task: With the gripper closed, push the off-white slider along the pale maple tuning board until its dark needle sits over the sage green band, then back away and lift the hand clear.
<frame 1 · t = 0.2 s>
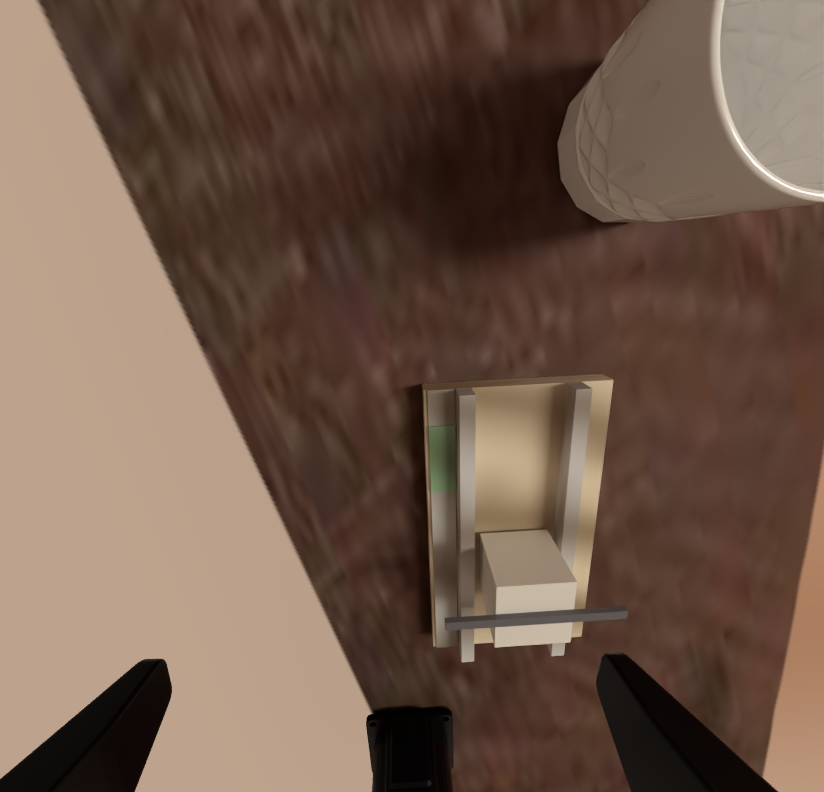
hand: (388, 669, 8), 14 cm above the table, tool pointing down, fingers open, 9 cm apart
tuning slider: (523, 586, 21), point 4 cm above the table, slide at 0.0 cm
white cup: (625, 146, 18), on the table
tuning board: (507, 516, 24), on the table
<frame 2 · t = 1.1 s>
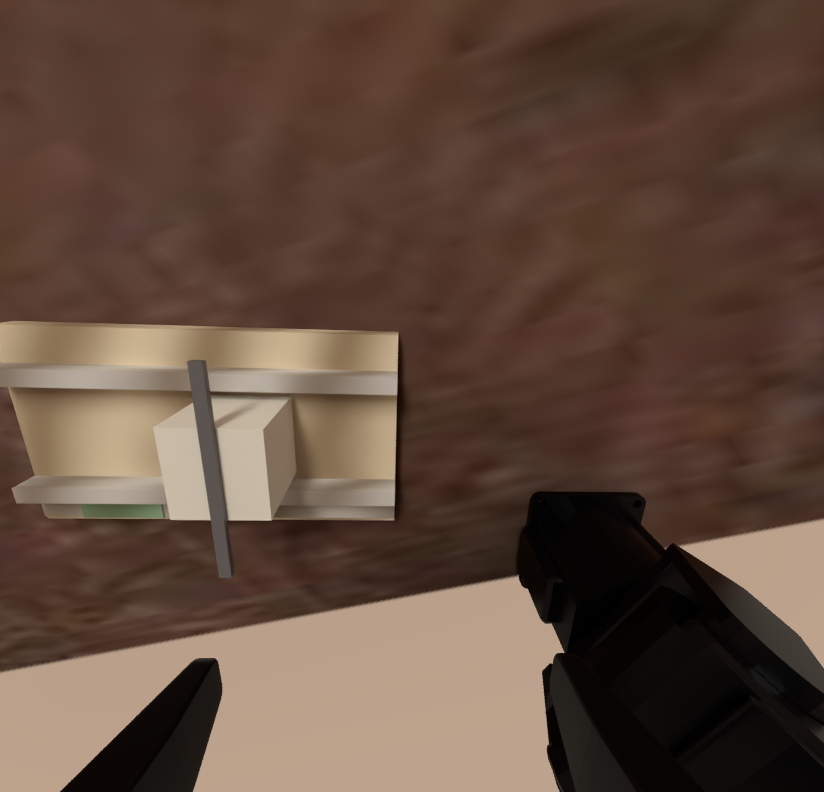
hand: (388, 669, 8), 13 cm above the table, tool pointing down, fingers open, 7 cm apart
tuning slider: (234, 454, 16), point 4 cm above the table, slide at 0.0 cm
tuning board: (223, 423, 20), on the table
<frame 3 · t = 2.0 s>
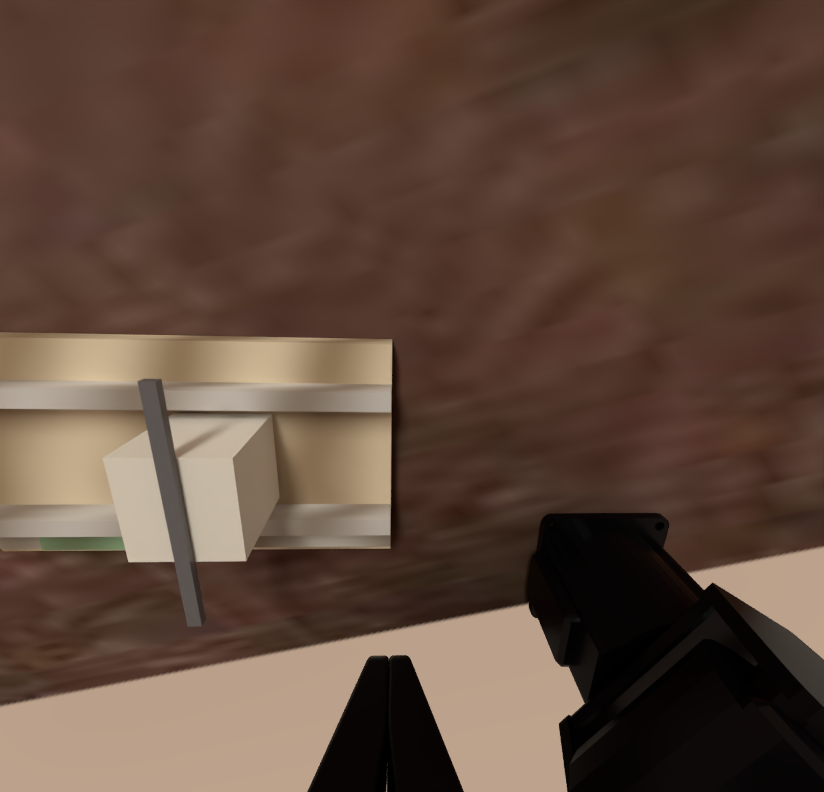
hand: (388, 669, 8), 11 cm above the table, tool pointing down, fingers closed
tuning slider: (205, 483, 14), point 4 cm above the table, slide at 0.0 cm
tuning board: (197, 443, 18), on the table
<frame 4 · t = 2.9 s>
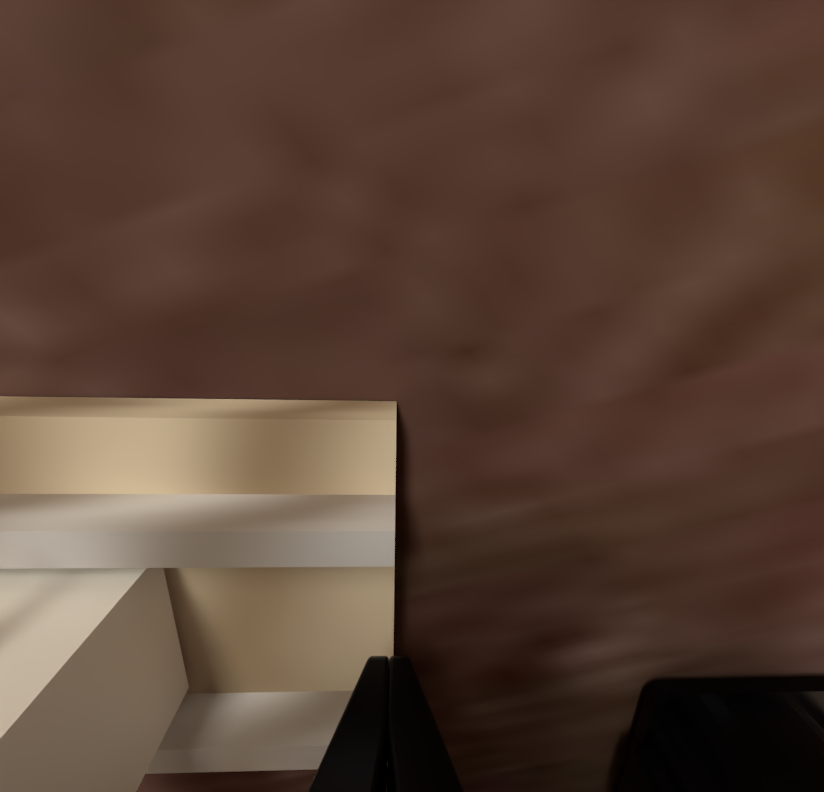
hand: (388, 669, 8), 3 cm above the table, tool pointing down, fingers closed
tuning board: (48, 579, 10), on the table
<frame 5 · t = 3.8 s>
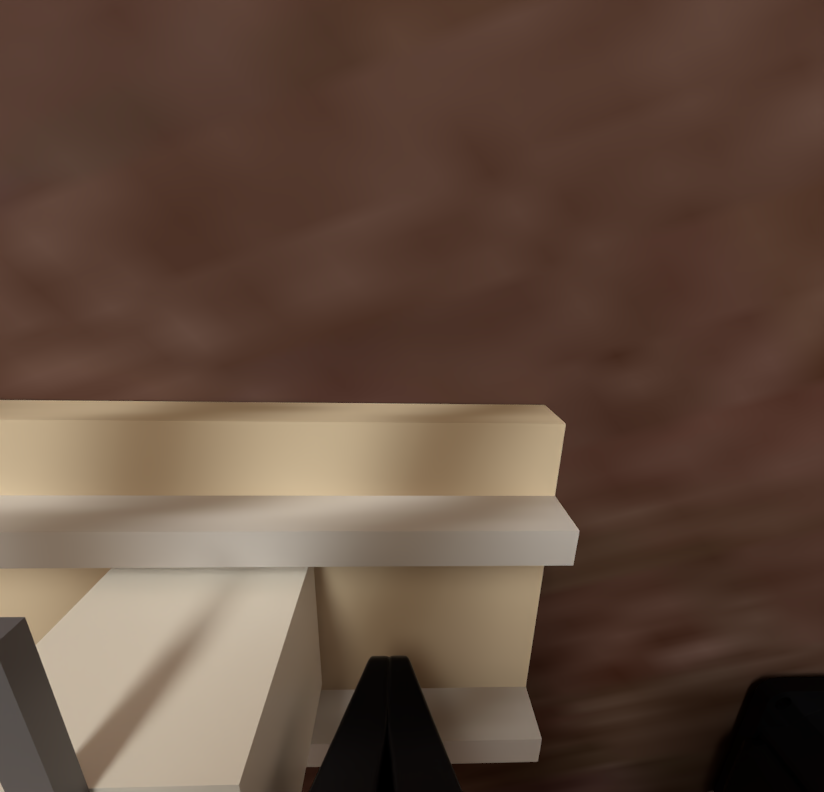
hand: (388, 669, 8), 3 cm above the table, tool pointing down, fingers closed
tuning slider: (181, 727, 7), point 4 cm above the table, slide at 0.3 cm, touching gripper
tuning board: (189, 578, 10), on the table
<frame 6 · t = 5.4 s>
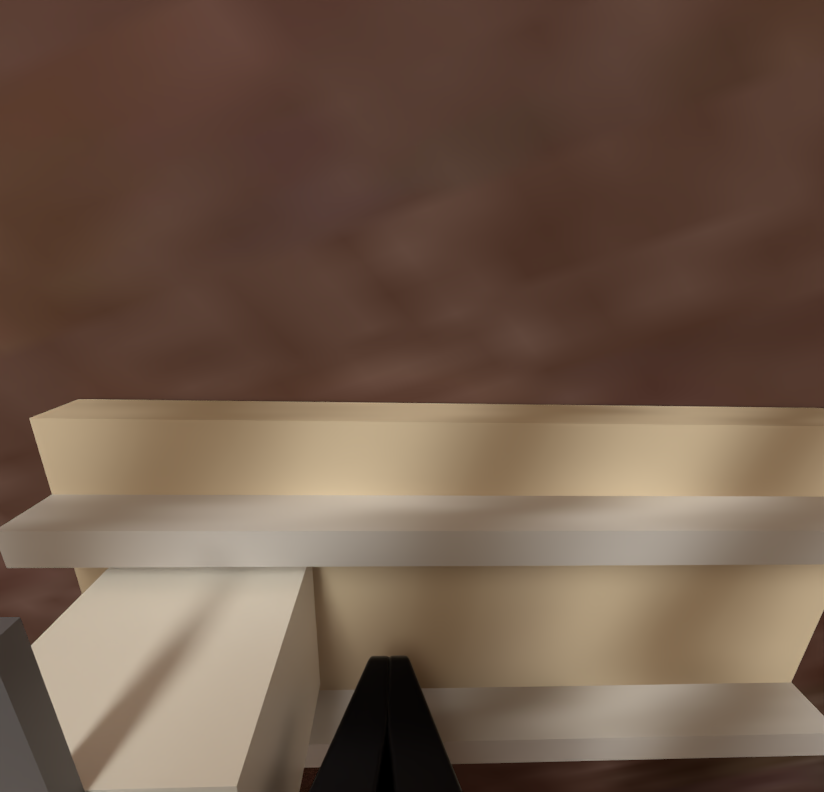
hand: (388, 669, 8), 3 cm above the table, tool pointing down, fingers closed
tuning slider: (178, 728, 7), point 4 cm above the table, slide at 7.7 cm, touching gripper
tuning board: (461, 576, 10), on the table
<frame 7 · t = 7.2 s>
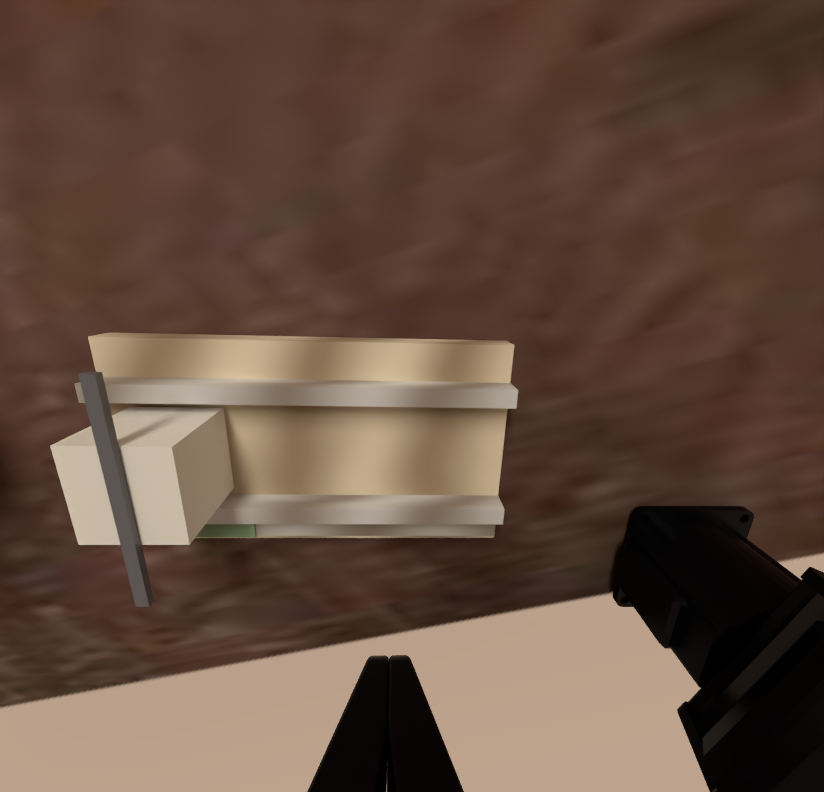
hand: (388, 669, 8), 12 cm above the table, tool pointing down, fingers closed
tuning slider: (155, 472, 15), point 4 cm above the table, slide at 7.7 cm
tuning board: (317, 437, 19), on the table
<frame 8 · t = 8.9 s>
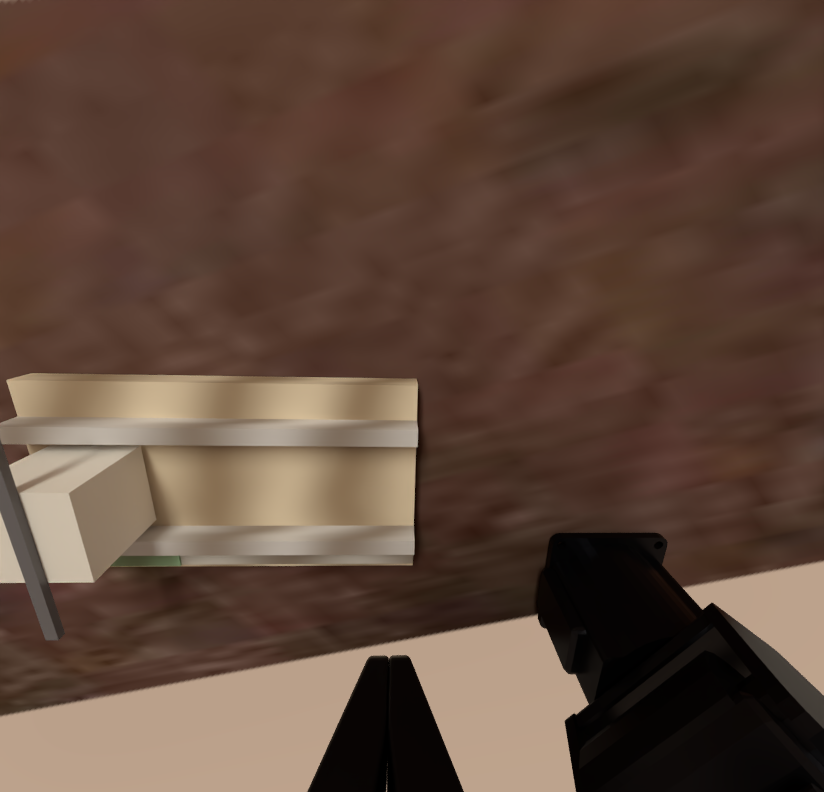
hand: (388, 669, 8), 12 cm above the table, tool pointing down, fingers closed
tuning slider: (67, 510, 16), point 4 cm above the table, slide at 7.7 cm
tuning board: (239, 469, 20), on the table
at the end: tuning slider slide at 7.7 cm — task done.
